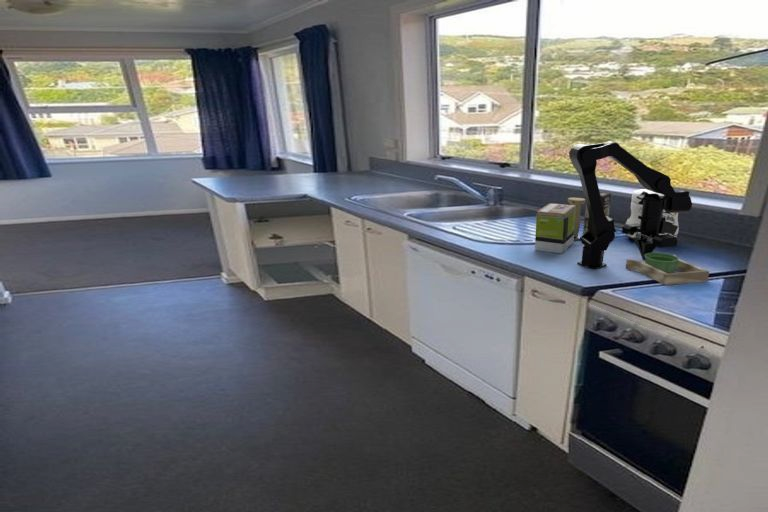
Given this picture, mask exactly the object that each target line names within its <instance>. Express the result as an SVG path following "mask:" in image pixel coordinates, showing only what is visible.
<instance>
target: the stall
mask: <svg viewBox="0 0 768 512" xmlns="http://www.w3.org/2000/svg"><path fill="white" fill-rule="evenodd" d="M673 255H674V256H676V257H677V255H676V254H673ZM677 258H678V257H677ZM625 269H627V270H630V271H635V272H638V273H641V274H642V275H644V276H646V277H648V278H650V279H653V281H656V282H658V283H661V284H662V285H665V286H671V285H672V286H673V285H680V284H683V285H684V284H692V283H693V284H694V283H702V282H708V281H709V280H708V279H709V275H710V271H709V270H707V269H705V268H702V267H699V266H697V265H694V264H693V263H690V262H687V261H685V260H682V259H680V258H678V261H677V263H676V266H675V270H677V271H679V272H673V273H669V274H668V273H666V272H663V271H661V270H659V269H657V268H655V267H653V266H651V265H648V264H646V263H645V261H640V260H636V259H632V258H627V259H626V263H625Z"/></svg>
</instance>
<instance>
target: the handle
mask: <svg viewBox="0 0 768 512" xmlns="http://www.w3.org/2000/svg"><path fill="white" fill-rule="evenodd" d="M567 202H568V203H569V205H576V212H575V226H574V237H576V238H579V237H578V236H579V232H580V226H581V207H582V205H584V204H586V201H585V198H582V197H568V198H567Z"/></svg>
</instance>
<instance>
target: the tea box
mask: <svg viewBox="0 0 768 512" xmlns="http://www.w3.org/2000/svg"><path fill="white" fill-rule="evenodd" d="M575 212H576V205H571V204H563V203H562V204H561V203H551V202H550V203H548V204H546V205H545V206H543V207H542V208H540V209H538V210H537V211H536V216H535V220H536V221H535V235H534V236H535V237H534V239H535V240H534V243H535V244H534V250H535V251H540V252H548V253H553V252H554V253H553V254H563V253H564V252H565V251H566V250H567V249H568V248H569V247H571V246H572V245H573V243H574V239H575V238H574V226H575Z"/></svg>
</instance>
